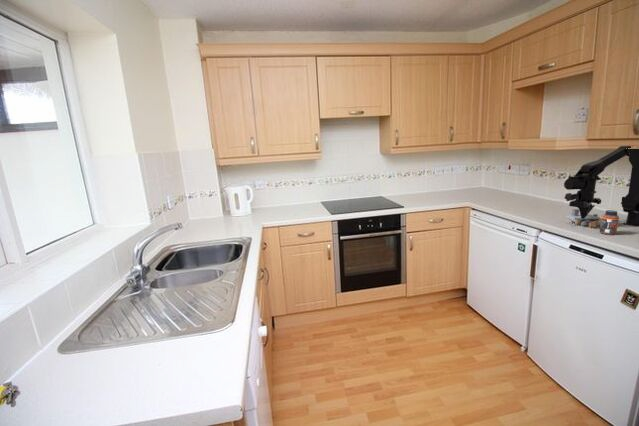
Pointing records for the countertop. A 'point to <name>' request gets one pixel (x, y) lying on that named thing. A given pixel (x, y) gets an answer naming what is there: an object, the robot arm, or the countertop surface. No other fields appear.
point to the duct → (591, 224)
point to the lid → (578, 217)
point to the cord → (586, 222)
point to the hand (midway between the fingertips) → (582, 218)
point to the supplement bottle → (609, 223)
